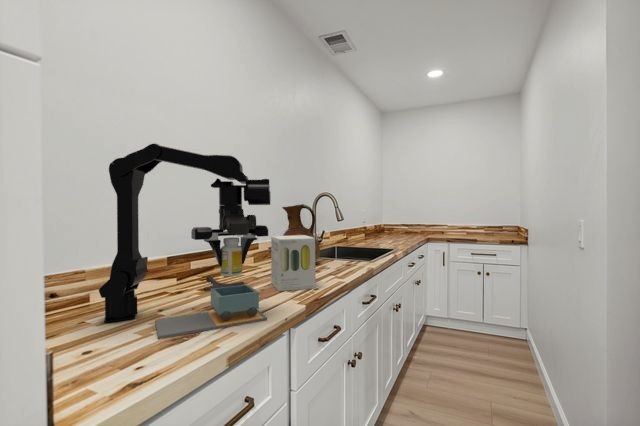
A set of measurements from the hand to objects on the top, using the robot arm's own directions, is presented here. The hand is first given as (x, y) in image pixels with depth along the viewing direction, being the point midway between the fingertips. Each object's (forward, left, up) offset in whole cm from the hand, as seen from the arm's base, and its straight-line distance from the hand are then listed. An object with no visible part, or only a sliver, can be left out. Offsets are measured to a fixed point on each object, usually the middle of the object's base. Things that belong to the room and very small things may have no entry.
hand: (231, 265), depth 85 cm
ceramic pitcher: (+49, +61, -13) cm, 79 cm away
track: (-6, -3, -13) cm, 14 cm away
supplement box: (+27, +21, -13) cm, 36 cm away
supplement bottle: (0, 0, -3) cm, 3 cm away
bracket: (+4, +37, -14) cm, 39 cm away
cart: (0, -3, -13) cm, 13 cm away
